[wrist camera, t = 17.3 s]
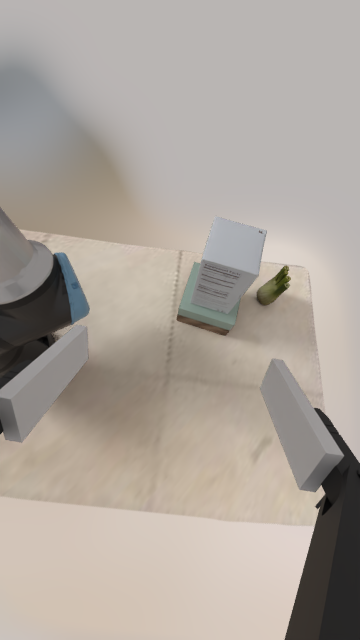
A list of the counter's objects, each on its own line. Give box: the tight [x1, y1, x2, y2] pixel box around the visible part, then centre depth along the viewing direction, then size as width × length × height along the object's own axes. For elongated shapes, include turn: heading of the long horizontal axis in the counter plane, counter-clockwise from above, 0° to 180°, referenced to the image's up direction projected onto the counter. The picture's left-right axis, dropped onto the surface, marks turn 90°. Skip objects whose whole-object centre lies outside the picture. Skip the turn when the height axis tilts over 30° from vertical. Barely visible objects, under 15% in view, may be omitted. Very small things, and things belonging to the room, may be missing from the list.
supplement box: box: [190, 217, 267, 314], centre depth 41 cm, size 10×9×17 cm
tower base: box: [177, 315, 229, 336], centre depth 54 cm, size 13×13×4 cm
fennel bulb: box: [257, 266, 291, 305], centre depth 52 cm, size 6×5×12 cm
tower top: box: [178, 262, 241, 330], centre depth 51 cm, size 13×13×4 cm
